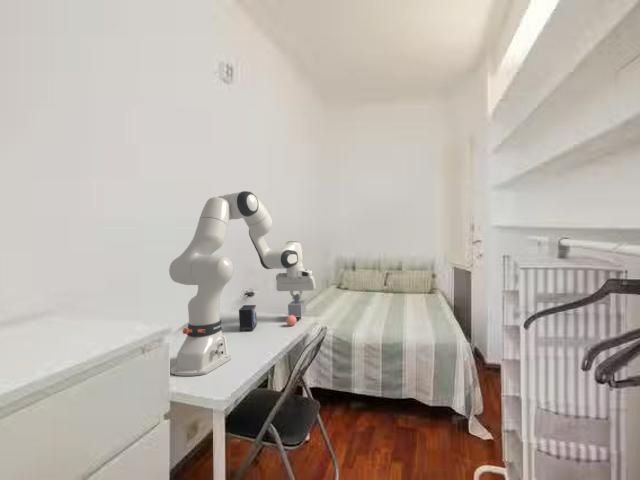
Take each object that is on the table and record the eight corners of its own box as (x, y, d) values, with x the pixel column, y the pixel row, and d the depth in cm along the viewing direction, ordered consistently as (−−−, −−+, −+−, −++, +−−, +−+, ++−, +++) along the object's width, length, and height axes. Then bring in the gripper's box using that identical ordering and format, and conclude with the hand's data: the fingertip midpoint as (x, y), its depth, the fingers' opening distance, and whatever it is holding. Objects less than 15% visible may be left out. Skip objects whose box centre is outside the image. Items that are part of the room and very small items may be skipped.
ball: (295, 326, 174) (294, 316, 174) (285, 326, 175) (284, 316, 175) (297, 324, 179) (297, 314, 179) (288, 324, 180) (287, 314, 180)
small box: (253, 331, 171) (251, 309, 171) (239, 332, 171) (237, 310, 171) (257, 325, 182) (256, 304, 181) (244, 325, 182) (243, 305, 181)
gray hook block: (301, 316, 183) (300, 296, 183) (288, 317, 185) (287, 296, 184) (306, 311, 194) (305, 292, 193) (294, 311, 195) (293, 292, 195)
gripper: (273, 274, 187) (275, 300, 188) (312, 272, 183) (314, 300, 184) (277, 272, 193) (279, 298, 194) (315, 271, 189) (317, 297, 190)
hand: (296, 299), depth 189 cm, fingers closed on gray hook block
